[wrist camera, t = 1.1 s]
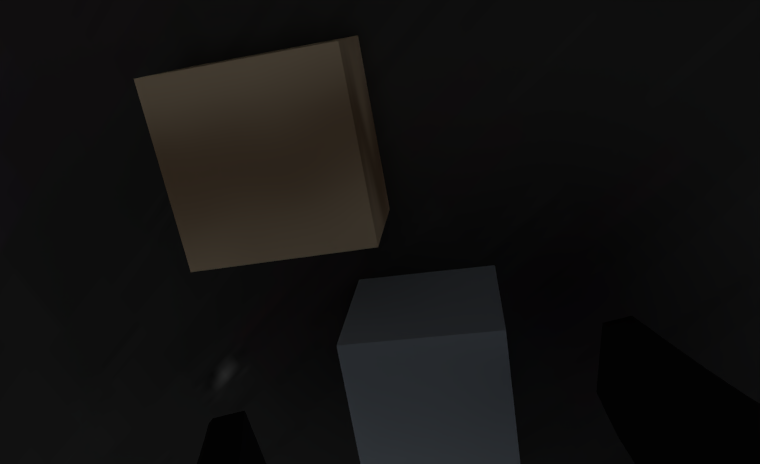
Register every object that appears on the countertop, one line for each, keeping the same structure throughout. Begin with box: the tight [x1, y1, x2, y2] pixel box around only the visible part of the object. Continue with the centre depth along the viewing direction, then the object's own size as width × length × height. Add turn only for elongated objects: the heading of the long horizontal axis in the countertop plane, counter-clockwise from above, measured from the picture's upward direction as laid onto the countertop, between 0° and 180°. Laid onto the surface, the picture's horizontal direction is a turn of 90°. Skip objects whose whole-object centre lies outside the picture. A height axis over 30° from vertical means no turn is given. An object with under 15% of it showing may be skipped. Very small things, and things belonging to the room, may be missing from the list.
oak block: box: [134, 35, 390, 272], centre depth 20 cm, size 6×6×4 cm
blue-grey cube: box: [337, 265, 520, 464], centre depth 22 cm, size 5×5×5 cm
